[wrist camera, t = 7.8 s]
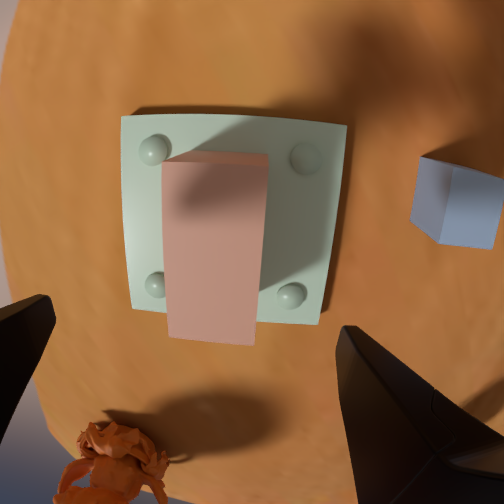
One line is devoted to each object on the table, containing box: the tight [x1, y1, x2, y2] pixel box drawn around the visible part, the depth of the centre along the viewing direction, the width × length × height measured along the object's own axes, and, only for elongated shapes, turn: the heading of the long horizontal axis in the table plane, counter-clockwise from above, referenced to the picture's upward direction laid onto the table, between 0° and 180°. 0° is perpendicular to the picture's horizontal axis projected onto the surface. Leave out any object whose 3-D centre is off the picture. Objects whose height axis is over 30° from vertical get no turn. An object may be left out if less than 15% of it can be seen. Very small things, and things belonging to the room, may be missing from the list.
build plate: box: [121, 114, 347, 325], centre depth 18 cm, size 12×12×1 cm
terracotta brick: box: [161, 150, 269, 346], centre depth 15 cm, size 8×4×5 cm, turn 176°
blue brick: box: [410, 157, 504, 250], centre depth 16 cm, size 4×4×4 cm
